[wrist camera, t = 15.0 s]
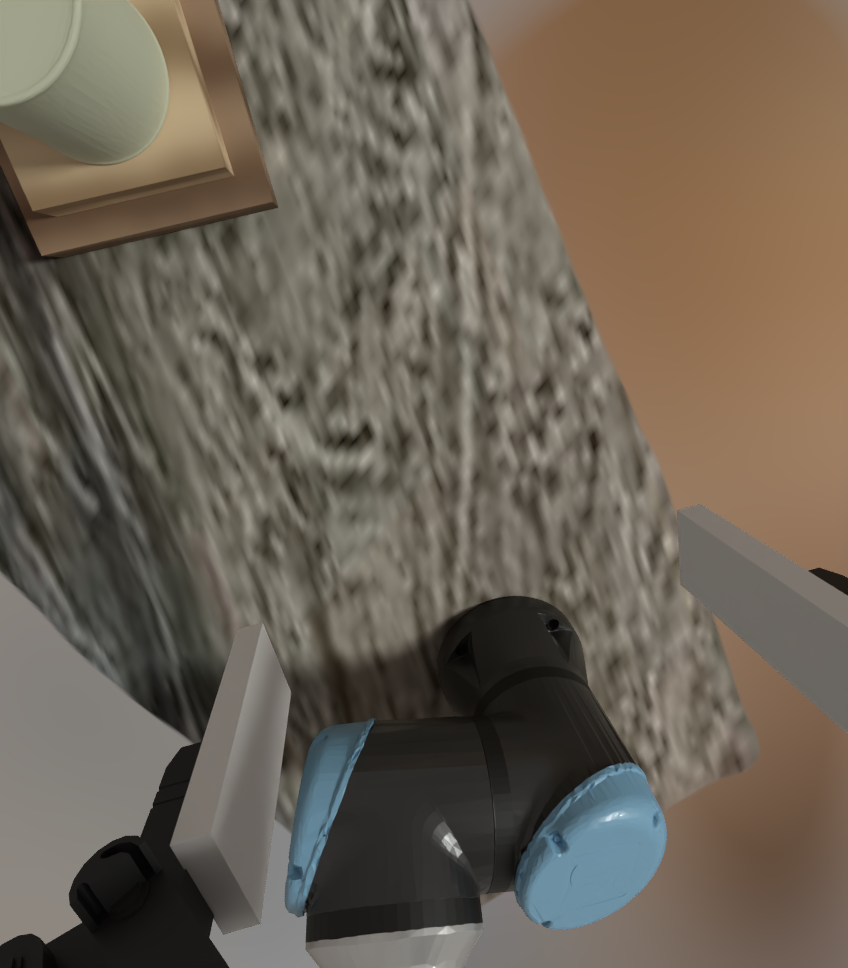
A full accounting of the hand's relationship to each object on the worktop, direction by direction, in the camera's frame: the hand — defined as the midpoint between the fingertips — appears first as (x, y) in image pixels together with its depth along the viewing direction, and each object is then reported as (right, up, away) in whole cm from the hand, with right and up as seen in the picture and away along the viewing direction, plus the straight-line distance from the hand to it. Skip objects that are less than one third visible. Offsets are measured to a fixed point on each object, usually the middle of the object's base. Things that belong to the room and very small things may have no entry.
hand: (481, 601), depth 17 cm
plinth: (-22, +29, +20) cm, 42 cm away
